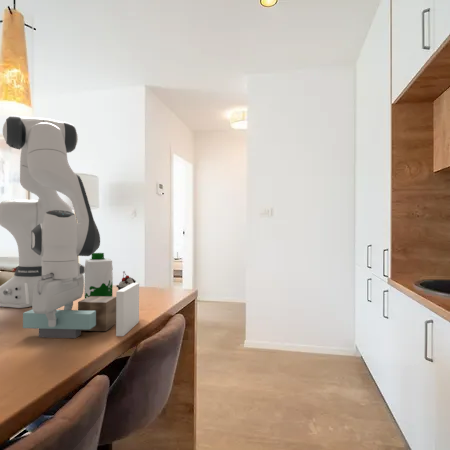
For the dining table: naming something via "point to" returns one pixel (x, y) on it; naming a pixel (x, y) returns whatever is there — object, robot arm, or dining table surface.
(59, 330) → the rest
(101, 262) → the milk carton
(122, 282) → the sundae
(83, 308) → the block
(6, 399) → the dining table surface
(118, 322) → the wall
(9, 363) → the dining table surface
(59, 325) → the peg
